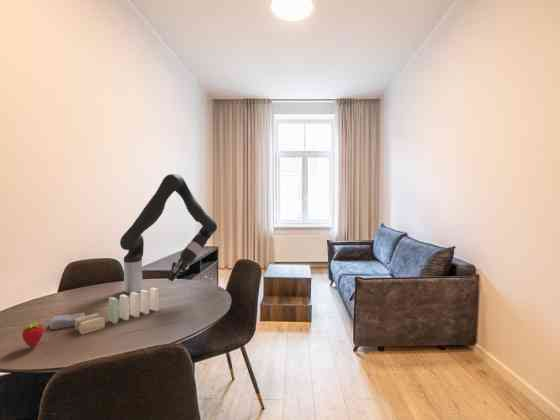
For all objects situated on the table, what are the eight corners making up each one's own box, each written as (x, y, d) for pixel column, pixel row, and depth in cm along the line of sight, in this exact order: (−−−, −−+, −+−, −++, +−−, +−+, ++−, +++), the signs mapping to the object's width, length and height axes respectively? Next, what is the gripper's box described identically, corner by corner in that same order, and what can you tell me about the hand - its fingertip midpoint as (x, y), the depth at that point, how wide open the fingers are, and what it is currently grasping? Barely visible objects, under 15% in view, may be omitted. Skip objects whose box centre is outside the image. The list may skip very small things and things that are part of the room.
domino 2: (125, 320, 128) (124, 297, 128) (120, 317, 131) (119, 295, 131) (128, 319, 129) (128, 296, 129) (124, 316, 133) (123, 294, 132)
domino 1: (113, 323, 125) (113, 299, 125) (109, 320, 128) (108, 297, 128) (117, 322, 126) (117, 299, 126) (113, 319, 129) (112, 296, 129)
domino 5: (155, 311, 139) (155, 290, 138) (150, 309, 142) (149, 288, 142) (158, 310, 140) (158, 289, 140) (153, 308, 143) (153, 287, 143)
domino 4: (145, 314, 135) (145, 292, 135) (140, 311, 138) (140, 290, 138) (149, 313, 136) (148, 291, 136) (144, 310, 140) (143, 289, 139)
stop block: (75, 328, 120) (75, 318, 120) (97, 322, 126) (97, 313, 126) (82, 334, 115) (81, 324, 115) (104, 327, 121) (104, 317, 121)
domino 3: (135, 317, 132) (135, 294, 131) (130, 314, 135) (130, 292, 135) (139, 316, 133) (138, 293, 133) (134, 313, 136) (133, 291, 136)
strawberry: (44, 341, 109) (44, 314, 109) (43, 349, 103) (43, 320, 103) (23, 345, 106) (22, 317, 106) (21, 354, 100) (20, 324, 99)
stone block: (53, 327, 126) (48, 331, 118) (54, 315, 127) (49, 318, 119) (86, 322, 132) (84, 326, 123) (87, 311, 133) (84, 314, 124)
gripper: (179, 246, 158) (157, 273, 149) (194, 248, 149) (172, 278, 140) (188, 255, 162) (168, 282, 153) (203, 257, 154) (182, 286, 144)
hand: (170, 280), depth 147 cm, fingers closed
